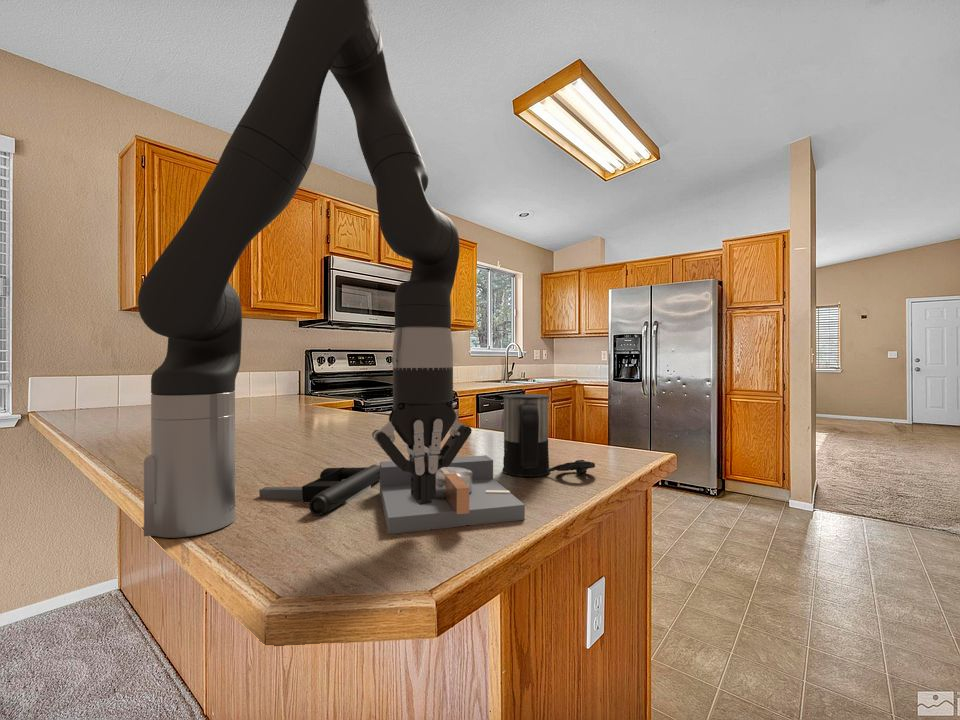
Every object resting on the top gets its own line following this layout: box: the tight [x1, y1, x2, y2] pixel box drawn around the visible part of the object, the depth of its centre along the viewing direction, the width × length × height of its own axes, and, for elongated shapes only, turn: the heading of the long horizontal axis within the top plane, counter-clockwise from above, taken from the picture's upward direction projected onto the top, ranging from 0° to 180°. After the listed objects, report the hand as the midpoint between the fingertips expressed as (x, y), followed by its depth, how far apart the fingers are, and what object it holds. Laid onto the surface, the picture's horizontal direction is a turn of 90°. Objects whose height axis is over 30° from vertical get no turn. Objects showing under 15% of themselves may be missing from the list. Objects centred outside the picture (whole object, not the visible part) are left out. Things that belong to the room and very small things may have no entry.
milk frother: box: [502, 393, 596, 477], centre depth 85 cm, size 14×16×15 cm
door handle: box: [258, 464, 380, 516], centre depth 73 cm, size 3×20×16 cm
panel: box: [379, 454, 526, 535], centre depth 66 cm, size 18×18×5 cm
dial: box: [435, 467, 472, 514], centre depth 63 cm, size 15×8×3 cm, turn 16°
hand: (423, 502), depth 57 cm, fingers closed
